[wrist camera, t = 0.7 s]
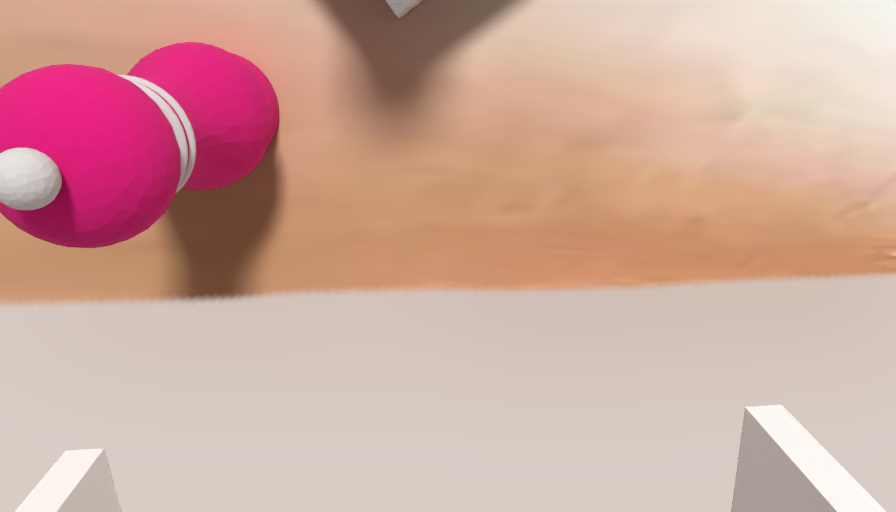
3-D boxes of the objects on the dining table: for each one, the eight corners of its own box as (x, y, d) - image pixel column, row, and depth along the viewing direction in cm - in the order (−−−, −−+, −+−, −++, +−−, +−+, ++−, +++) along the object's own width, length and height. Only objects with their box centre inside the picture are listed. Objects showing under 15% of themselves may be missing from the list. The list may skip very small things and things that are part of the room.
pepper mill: (314, 123, 36) (198, 214, 18) (219, 195, 38) (14, 353, 19) (229, 14, 34) (-5, -16, 15) (132, 93, 36) (-198, 155, 17)
